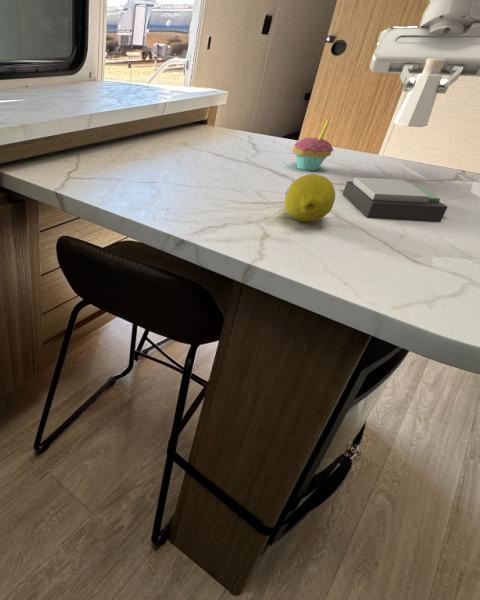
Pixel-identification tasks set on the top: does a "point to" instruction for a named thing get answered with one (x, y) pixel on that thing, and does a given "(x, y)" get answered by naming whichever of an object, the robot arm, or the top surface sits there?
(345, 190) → the scale
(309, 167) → the cupcake
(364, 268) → the top surface
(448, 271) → the top surface
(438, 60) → the salt shaker
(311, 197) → the lemon
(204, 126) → the top surface
